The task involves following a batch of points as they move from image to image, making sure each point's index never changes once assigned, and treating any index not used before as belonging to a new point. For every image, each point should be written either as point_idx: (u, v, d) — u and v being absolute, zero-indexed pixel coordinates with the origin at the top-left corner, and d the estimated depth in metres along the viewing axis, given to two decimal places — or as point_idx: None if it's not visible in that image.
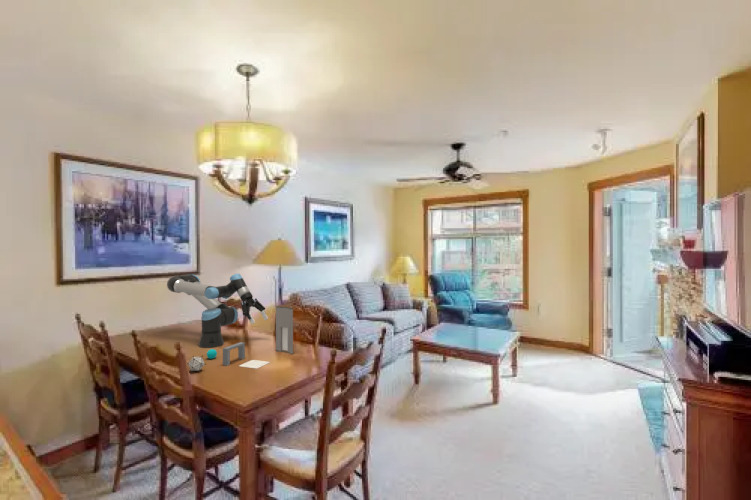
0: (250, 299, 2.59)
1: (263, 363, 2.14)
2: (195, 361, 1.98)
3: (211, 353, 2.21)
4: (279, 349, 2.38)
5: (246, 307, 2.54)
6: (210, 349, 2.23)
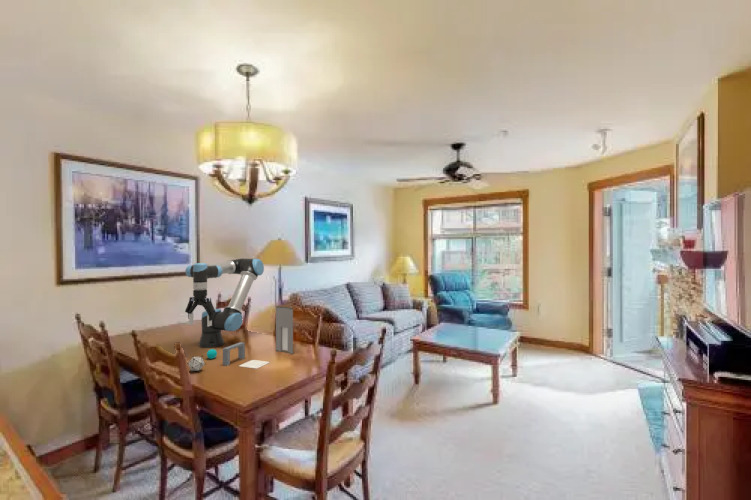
0: (200, 297, 2.25)
1: (263, 363, 2.14)
2: (195, 361, 1.98)
3: (211, 353, 2.21)
4: (279, 349, 2.38)
5: None
6: (210, 349, 2.23)
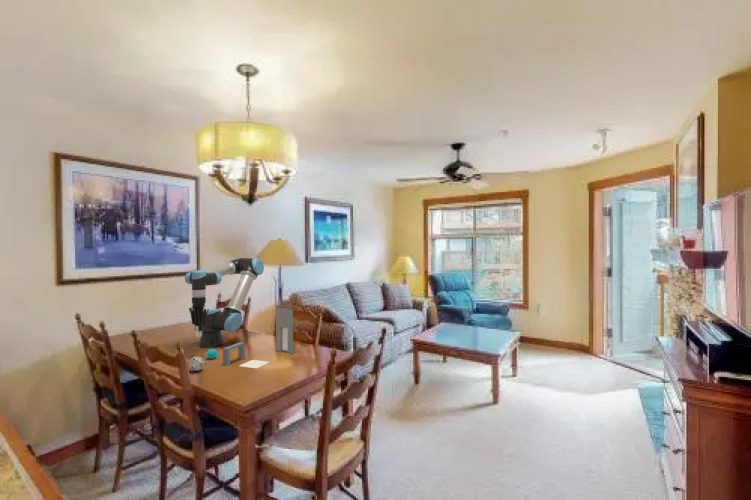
0: (198, 305, 2.25)
1: (263, 363, 2.14)
2: (195, 361, 1.98)
3: (211, 353, 2.21)
4: (279, 349, 2.38)
5: None
6: (210, 349, 2.23)
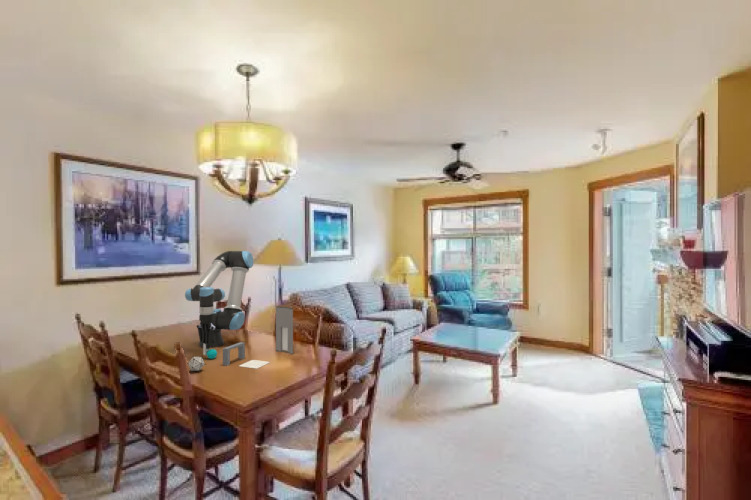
0: (206, 322, 2.22)
1: (263, 363, 2.14)
2: (195, 361, 1.98)
3: (211, 353, 2.21)
4: (279, 349, 2.38)
5: None
6: (210, 349, 2.23)
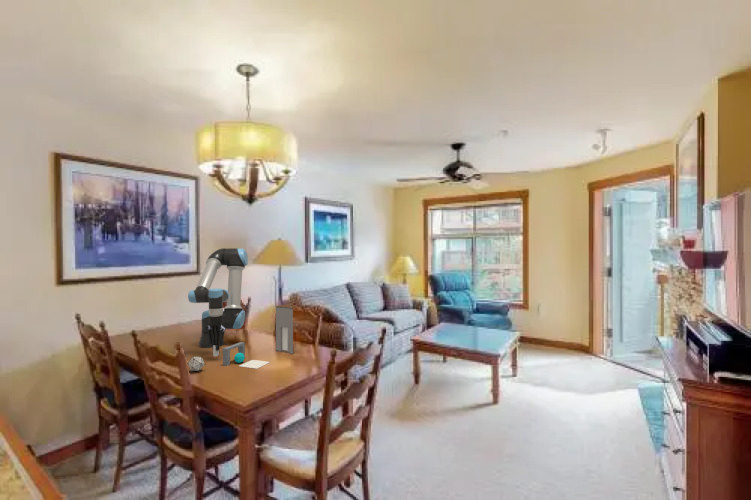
0: (215, 324, 2.21)
1: (263, 363, 2.14)
2: (195, 361, 1.98)
3: (239, 360, 2.13)
4: (279, 349, 2.38)
5: None
6: (240, 354, 2.15)
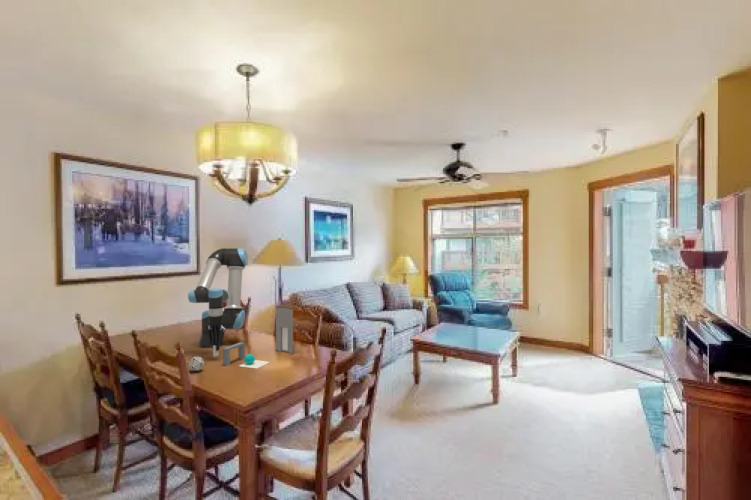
0: (215, 324, 2.21)
1: (263, 363, 2.14)
2: (195, 361, 1.98)
3: (244, 360, 2.12)
4: (279, 349, 2.38)
5: None
6: None
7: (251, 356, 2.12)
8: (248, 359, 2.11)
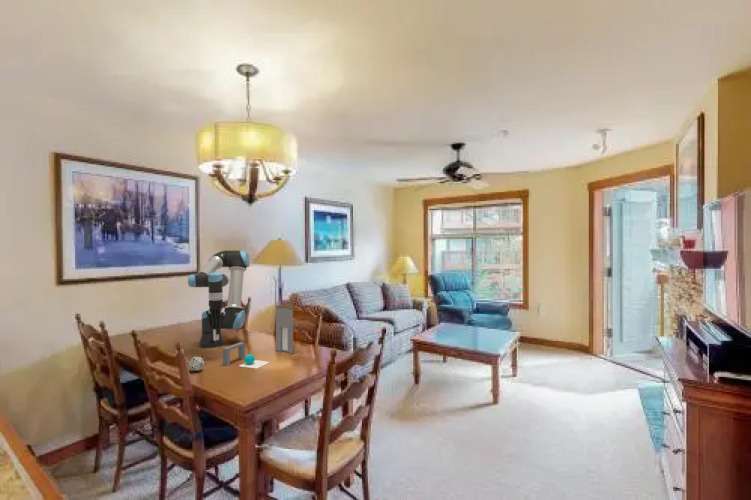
0: (215, 308, 2.20)
1: (263, 363, 2.14)
2: (195, 361, 1.98)
3: None
4: (279, 349, 2.38)
5: None
6: None
7: (251, 356, 2.12)
8: (248, 359, 2.11)
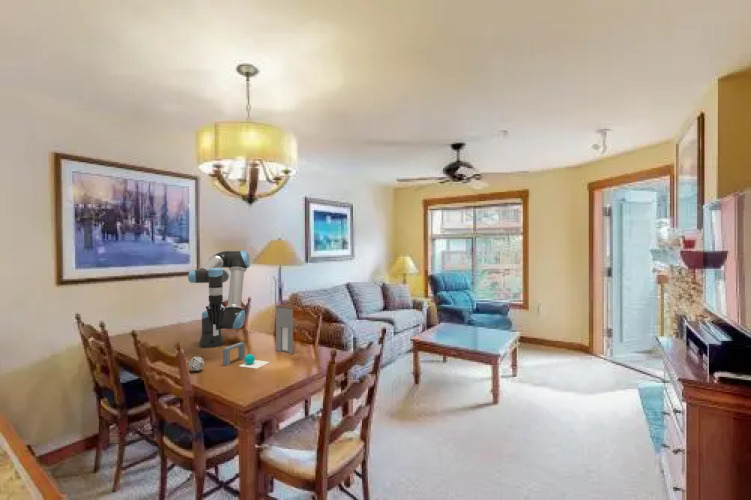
0: (215, 303, 2.20)
1: (263, 363, 2.14)
2: (195, 361, 1.98)
3: None
4: (279, 349, 2.38)
5: None
6: None
7: (251, 356, 2.12)
8: (248, 359, 2.11)
